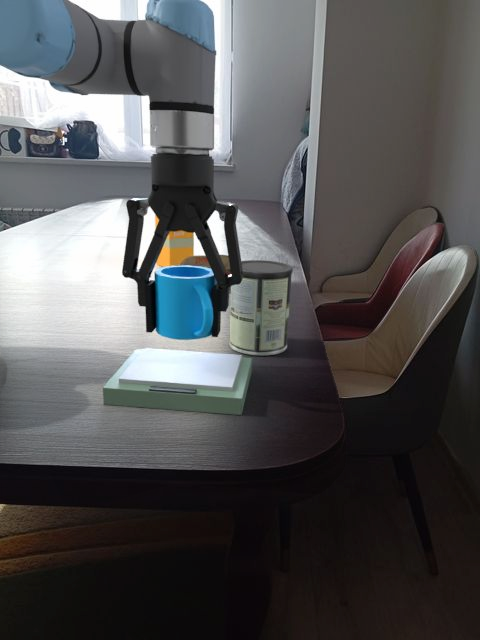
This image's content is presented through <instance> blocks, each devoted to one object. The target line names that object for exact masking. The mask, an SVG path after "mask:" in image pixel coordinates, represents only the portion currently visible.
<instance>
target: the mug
mask: <svg viewBox="0 0 480 640" xmlns="http://www.w3.org/2000/svg"><path fill="white" fill-rule="evenodd" d="M153 271H154V280H155V313H156V328H155V332H156V334H157V335H159V336H161V337H164V338H167V339H171V340H179V341H180V340H181V341H191V340H192V341H193V340H200V339H204V338H205V339H207V338H208V337H210V336H211V337H212V324H213V308H212V289H213V287H214V286H215V285H216V279H215V276H214V274H213V272H212V269H210V268H206V267H200V266H186V265H181V266H166V267H162V266H160V267H159V268H156V269H155V270H153Z"/></svg>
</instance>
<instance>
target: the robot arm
mask: <svg viewBox="0 0 480 640" xmlns="http://www.w3.org/2000/svg"><path fill="white" fill-rule="evenodd" d="M216 57H217V50H216V36H215V15H214V11H213V10H212V8H211V7H210V6H209V5H208V4H207V3H206V2H204V1H202V0H148V1H147V3H146V12H145V15H144V19H137V20H123V19H122V20H121V19H120V20H119V19H104V18H99V17H98V16H96V15H94V14H92V13H91V12H90V11H88V10H86V9H84V8H83V7H81V6H80V5H78V4H77V3H75V2H72V1H71V0H0V66H1V67H3V68H5V69H7V70H9V71H11V72H13V73H15V74H18V75H19V76H22V77H27V78H32V79H33V78H34V79H41V80H44V81H48V83H49V85H50V87H52V88H53V89H54V90H56V91H58V92H61V93H71V94H76V95H81V96H89V95H111V96H112V95H117V96H118V95H119V96H138V97H146V96H147V97H148V100H149V104H148V105H149V107H148V108H149V138H150V139H149V143H150V144H149V145H150V147H151V148H153V149H155V153H153V152H152V155H150V174H151V175H150V177H151V178H150V179H151V180H150V181H151V191H150V194H149V195H148V197H145V198H138V197H134V198H130V199H128V200H127V201H126V203H125V206H126V210H127V216H128V225H127V233H126V238H125V246H124V253H123V254H124V255H123V264H122V270H121V275H122V276H123V278H126V279H131V280H133V281H135V283H136V285H137V287H136V289H137V304H138V306H139V307H143V308H144V307H145V308H144V309H145V333H151V334H152V333H153V332H154V331H155V330H156V313H155V279H150V278H152V273H153V271H154V269H155V266H156V265H157V264H156V262H157V260H158V257H159V255H160V253H161V250H162V248H163V246H164V243H165V241H166V239H167V236H168V235H169V233H170V231H173V232H176V231H180V230H182V231H185V232H190V233H194V235H195V236H196V239H197V240H198V242H199V243H200V246H201V248H202V250H203V253H204V255H206V258H207V260H208V262H209V265H210V267H211V269H212V272H213V274H214V276H215V279H216V281H217V284H216V285H215V286H214V287H213V289H212V308H213V324H212V335H211V337H212V338H218V337H219V335H220V332H221V326H222V325H221V324H222V323H221V321H222V320H221V318H222V316H221V315H222V313H226V312H227V310H228V309H229V307H230V288H229V287H230V286H233V285H238V284H240V283H241V281H242V279H243V269H242V262H241V261H242V256H241V248H240V241H239V237H238V230H237V223H236V222H237V218H238V213H239V206H238V204H236V203H231V204H230V203H226V202H221V201H218V199H217V197H216V195H215V192H214V190H215V189H214V185H215V184H214V183H215V182H214V181H215V180H214V177H215V176H214V175H215V174H214V173H215V159H214V158H213V156H212V155H210V151H211V152H212V151H213V150H214V149H215V88H216V87H215V86H216V82H215V81H216V59H217V58H216ZM149 208H150V209H151V211H152V212H153V214H154V216H155V215H156V216H157V218H158V219H159V222H158V224H157V227H156V229H154V232H153V233H154V234H153V236H152V239H151V240H150V244H149V245H148V248H147V250H146V253H145V255H144V258H143V260H142V262H141V265H140V267H138V264H139V258H140V251H141V244H142V236H143V230H144V221H145V216H146V215H148V210H149ZM214 212H217V213H218V217H219V220H220V221H221V222H223V229H224V236H225V237H224V238H225V242H226V243H225V244H226V251H227V255H228V257H229V263H230V270H231V275H228V274H227V271H226V269H225V266H224V264H223V262H222V259H221V257H220V255H221V254H220V253H219V250H218V247H217V245H216V242H215V240H214V237H213V236H212V231H211V228H210V226H209V223H208V221H209V220H210V218H211V217H212V215H213V214H214Z"/></svg>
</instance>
